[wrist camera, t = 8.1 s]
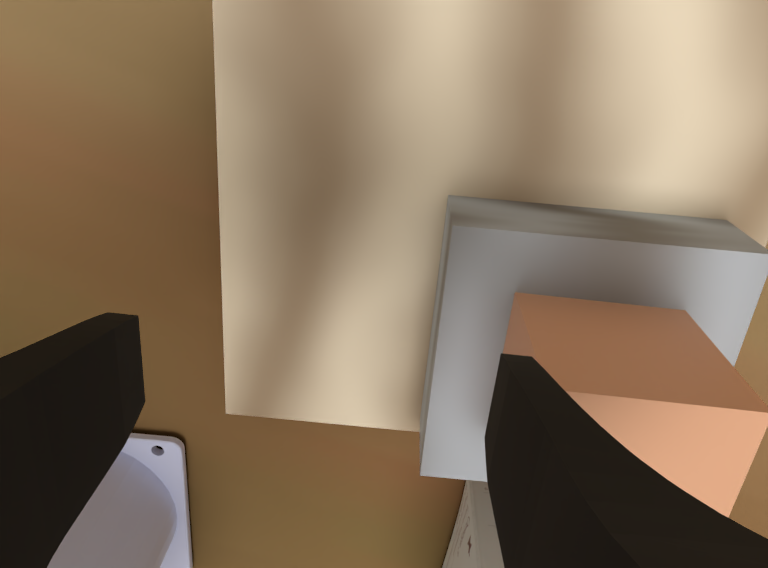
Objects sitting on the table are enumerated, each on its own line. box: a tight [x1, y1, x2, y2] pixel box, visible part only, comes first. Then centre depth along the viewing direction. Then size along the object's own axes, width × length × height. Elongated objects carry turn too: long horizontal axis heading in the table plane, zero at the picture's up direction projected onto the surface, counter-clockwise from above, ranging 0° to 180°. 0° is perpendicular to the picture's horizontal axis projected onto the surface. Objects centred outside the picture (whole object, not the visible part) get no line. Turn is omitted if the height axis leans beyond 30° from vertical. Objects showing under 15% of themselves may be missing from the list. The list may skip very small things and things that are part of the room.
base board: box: [212, 0, 768, 482], centre depth 20 cm, size 18×18×4 cm
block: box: [503, 292, 768, 517], centre depth 17 cm, size 5×5×5 cm
